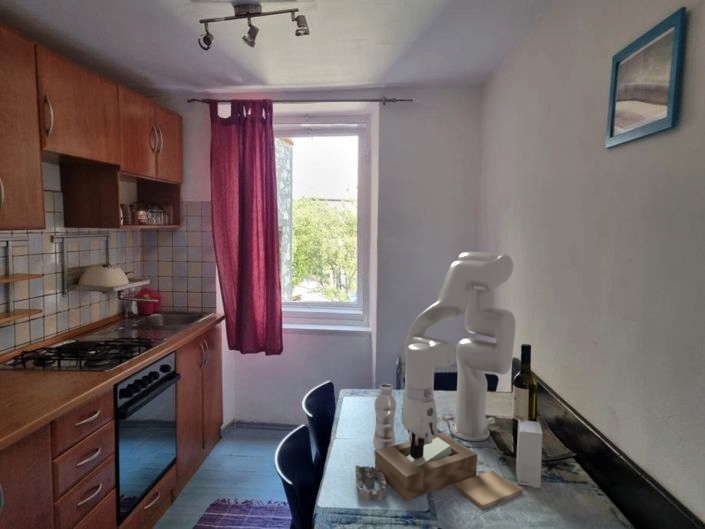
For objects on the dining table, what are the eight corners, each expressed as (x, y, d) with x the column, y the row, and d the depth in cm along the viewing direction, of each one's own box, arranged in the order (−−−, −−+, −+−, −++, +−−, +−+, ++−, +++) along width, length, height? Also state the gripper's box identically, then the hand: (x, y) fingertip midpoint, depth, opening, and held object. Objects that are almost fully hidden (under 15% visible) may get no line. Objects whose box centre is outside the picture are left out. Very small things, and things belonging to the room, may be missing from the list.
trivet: (492, 473, 122) (492, 470, 122) (521, 493, 113) (522, 489, 113) (453, 487, 115) (454, 483, 115) (482, 509, 106) (482, 505, 106)
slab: (438, 444, 126) (437, 437, 125) (451, 453, 121) (450, 445, 120) (405, 465, 120) (404, 458, 120) (417, 475, 116) (416, 468, 115)
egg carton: (387, 501, 109) (387, 486, 108) (356, 502, 108) (357, 486, 108) (382, 476, 119) (382, 462, 119) (354, 476, 119) (354, 462, 118)
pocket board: (442, 452, 132) (443, 432, 132) (476, 476, 120) (477, 454, 120) (374, 472, 121) (375, 450, 120) (404, 501, 109) (406, 476, 108)
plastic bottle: (393, 457, 129) (396, 391, 127) (371, 454, 130) (373, 388, 129) (396, 446, 135) (398, 383, 134) (374, 443, 137) (376, 381, 135)
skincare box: (540, 489, 115) (544, 434, 114) (516, 484, 117) (519, 431, 116) (537, 472, 123) (541, 421, 122) (514, 468, 125) (517, 417, 124)
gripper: (449, 398, 112) (446, 466, 114) (413, 379, 125) (411, 440, 127) (425, 404, 108) (423, 474, 110) (391, 384, 121) (389, 447, 123)
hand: (416, 456), depth 119 cm, fingers closed
